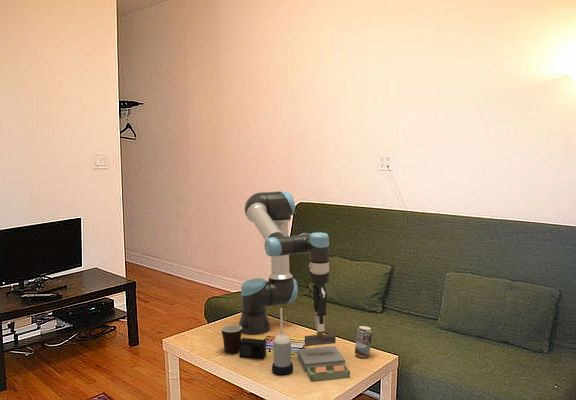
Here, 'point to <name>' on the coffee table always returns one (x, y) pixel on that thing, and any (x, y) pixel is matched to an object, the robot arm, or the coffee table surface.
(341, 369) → the tile
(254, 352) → the digital camera
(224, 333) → the coffee mug
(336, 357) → the grey flat block
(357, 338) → the beverage can
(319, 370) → the tile
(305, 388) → the coffee table surface
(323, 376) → the box
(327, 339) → the scraper
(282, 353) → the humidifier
